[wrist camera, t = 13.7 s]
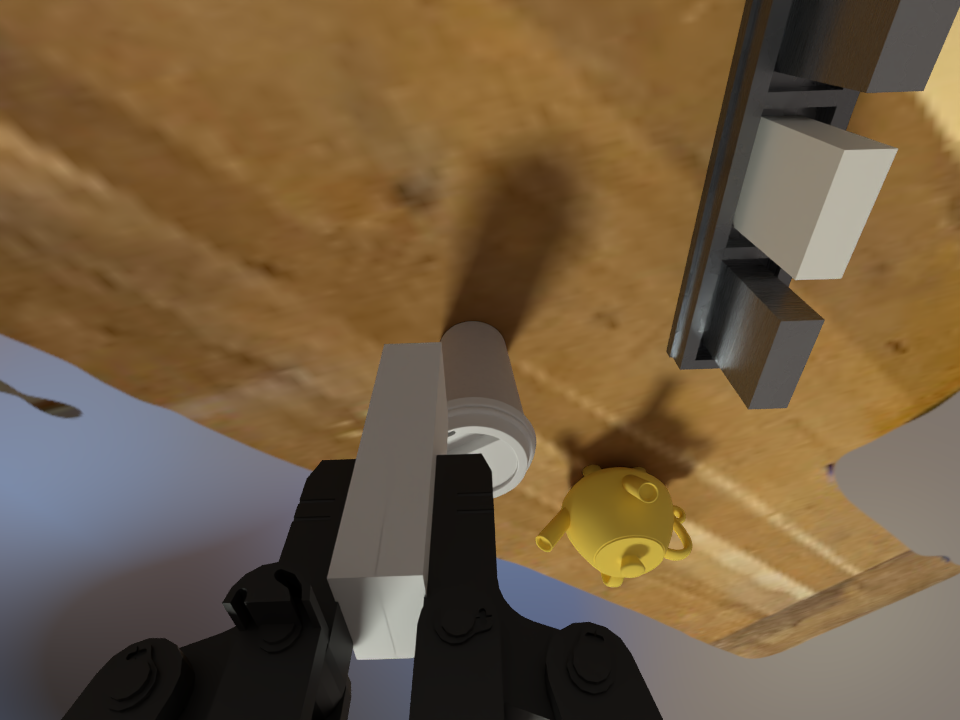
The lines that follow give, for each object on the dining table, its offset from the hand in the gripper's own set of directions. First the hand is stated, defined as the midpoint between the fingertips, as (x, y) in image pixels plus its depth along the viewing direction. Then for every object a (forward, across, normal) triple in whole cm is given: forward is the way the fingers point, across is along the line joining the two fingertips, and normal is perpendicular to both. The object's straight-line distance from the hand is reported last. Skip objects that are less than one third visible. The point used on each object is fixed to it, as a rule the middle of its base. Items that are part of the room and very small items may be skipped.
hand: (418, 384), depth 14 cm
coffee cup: (+30, +1, -19) cm, 35 cm away
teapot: (+30, +16, -39) cm, 52 cm away
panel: (+28, +24, -3) cm, 37 cm away
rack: (+29, +25, -3) cm, 39 cm away
